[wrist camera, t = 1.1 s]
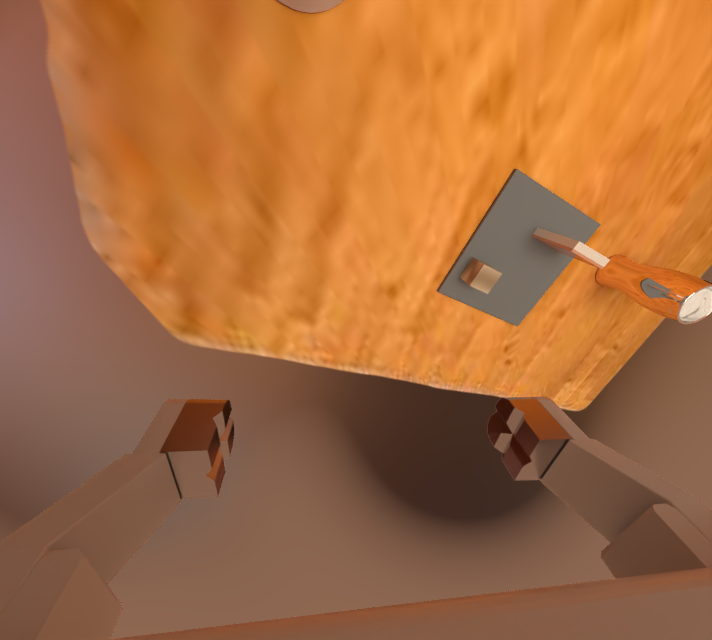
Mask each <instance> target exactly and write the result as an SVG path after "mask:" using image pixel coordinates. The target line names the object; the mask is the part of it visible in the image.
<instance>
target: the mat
mask: <svg viewBox="0 0 712 640" xmlns="http://www.w3.org/2000/svg"><path fill="white" fill-rule="evenodd" d="M599 226H600V224H599V223H597V222H596V221H594V220H593V219H591V218H590V217H588V216H587V215H585V214H584V213H582V212H581V211H579V210H578V209H576V208H575V207H573V206H572V205H570V204H569V203H567V202H566V201H564V200H563V199H561V198H560V197H558V196H557V195H555V194H554V193H552V192H551V191H549V190H548V189H546V188H545V187H543V186H542V185H540V184H539V183H537V182H536V181H534V180H533V179H531V178H530V177H528V176H527V175H525V174H524V173H522V172H521V171H519V170H518V169H514V171H513V172H512V174H511V175H510V177H509V179H508V180H507V182H506V183H505V185H504V186H503V188H502V190H501V191H500V193H499V194H498V196H497V197H496V199H495V201H494V202H493V204H492V205H491V207H490V208H489V210H488V212H487V213H486V215H485V216H484V218H483V219H482V221H481V223H480V224H479V226H478V227H477V229H476V230H475V232H474V234H473V235H472V237H471V238H470V240H469V241H468V243H467V245H466V246H465V248H464V249H463V251H462V252H461V254H460V256H459V257H458V259H457V260H456V262H455V263H454V265H453V266H452V268H451V270H450V271H449V273H448V274H447V276H446V277H445V279H444V281H443V282H442V284H441V285H440V287H439V288H438V290H437V291H438V292H439V293H442V294H444V295H446V296H449V297H451V298H453V299H456V300H458V301H460V302H463V303H465V304H467V305H470V306H472V307H474V308H476V309H479V310H481V311H483V312H486V313H488V314H490V315H493V316H495V317H497V318H500V319H502V320H504V321H506V322H509V323H511V324H513V325H516V326H518V325H519V324H520V323H521V321H522V320H523V319H524V318H525V317H526V315H527V314H528V313H529V312H530V310H531V309H532V308H533V307H534V306H535V304H536V303H537V302H538V301H539V299H540V298H541V297H542V296H543V295H544V293H545V292H546V291H547V290H548V288H549V287H550V286H551V285H552V284H553V282H554V281H555V280H556V279H557V277H558V276H559V275H560V274H561V273H562V271H563V270H564V269H565V268H566V266H567V265H568V264H569V263H570V262H571V260H572V259H573V258H572V257H570V256H567V255H565V254H562V253H560V252H558V251H556V250H554V249H553V248H551V247H549V246H547V245H546V244H544V243H542V242H540V241H539V240H537V239H535V238H533V237H532V234H533V233H534V232H535V230H536V229H537V228H541V229H544V230H547V231H550V232H553V233H556V234H559V235H562V236H565V237H568V238H571V239H574V240H577V241H580V242H582V243H583V244H585V243H586V242H587V241H588V240H589V238H590V237H591V236H592V235H593V234H594V232H595V231H596V230H597V229H598V227H599ZM472 257H474V258H476V259H478V260H480V261H482V262H484V263H486V264H488V265H490V266H491V267H493V268H494V269H496V270H498V271H499V272H501V273H502V275H501V276H500V278H499V279H498V281H497V282H496V283H495V285H494V286H493V287H492V289H491V290H490V292H489V293H488V294H487V293H484V292H482V291H480V290H478V289H476V288H474V287H471V286H469V285H468V284H467V283H466V282H465V281H464V280H462V279H461V278H460V275H461V274H462V272H463V271H464V269H465V268H466V266H467V265H468V263H469V262H470V260H471V259H472Z"/></svg>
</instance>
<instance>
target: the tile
mask: <svg viewBox="0 0 712 640" xmlns="http://www.w3.org/2000/svg"><path fill="white" fill-rule="evenodd" d="M532 237H533V238H535V239H537V240H539V241H540V242H542V243H544V244H546V245H547V246H549V247H551V248H553V249H554V250H556V251H558V252H560V253H562V254H565V255H567V256H570V257H572V258H575V259H577V260H580V261H582V262H585V263H587V264H590V265H592V266H595V267H597V268H600V269H603V268H604V267H605V265H606V264H607V263H608V262H609V261H610V260H609V259H608V258H606V257H604V256H603V255H601V254H600V253H598V252H596V251H595V250H593V249H591V248H590V247H588V246H587V245H585V244H583V243H582V242H580V241H577V240H574V239H571V238H568V237H565V236H562V235H559V234H556V233H553V232H550V231H547V230H544V229H541V228H537V229H536V230H535V232H534V233H533V234H532Z"/></svg>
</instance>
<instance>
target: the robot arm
mask: <svg viewBox="0 0 712 640" xmlns="http://www.w3.org/2000/svg"><path fill="white" fill-rule="evenodd" d="M278 1H280V2H281V3H283V4H284V5H286V6H288V7H290V8H292V9H295V10H298V11H302V12H308V13H315V12H322V11H326V10H328V9H331V8H333V7H335V6H336V5H338V4H339V3H341V2H342V1H343V0H278ZM495 407H496V410H497V412H496V413H494V414H493V415H492V416H490V419H489V421H488V423H487V430H488V435H489V438H490V440H491V442H492V444H493V446H494V447H495V448H496V449H498V450H499V451H501V452H502V461H503V462H504V464H505V466H506V467H507V469H508V471H509V472H510V474H511V476H512V477H513V479H514V480H541V481H540V482H542V483H543V484H544V485H545V486H546V487H548V488H549V489H550V490H551V491H552V492H553V493H554V494H555V495H557V496H558V497H559V498H560V499H561V500H562V501H564V502H565V503H566V504H567V505H568V506H569V507H570V508H571V509H573V510H574V511H575V512H576V513H577V514H578V515H579V516H581V517H582V518H583V519H584V520H585V521H586V522H587V523H589V524H590V525H591V526H592V527H593V528H594V529H595V530H597V531H598V532H599V533H600V534H601V535H602V536H604V537H605V538H606V539H607V540H608V541H609V542H610V544H609V545H608V546H607V547H606V548H605V549H603V550H602V551H601V558H602V560H603V561H604V563H605V564H606V565H607V567H608V568H609V570H610V571H611V573H612V574H613V576H614V577H615V579H607V580H597V581H589V582H581V583H573V584H564V585H556V586H548V587H539V588H531V589H524V590H515V591H506V592H498V593H490V594H481V595H473V596H465V597H457V598H448V599H440V600H431V601H423V602H415V603H407V604H398V605H391V606H382V607H373V608H366V609H357V610H349V611H340V612H332V613H324V614H316V615H307V616H299V617H290V618H282V619H274V620H266V621H257V622H249V623H241V624H232V625H225V626H216V627H207V628H199V629H191V630H183V631H175V632H167V633H158V634H149V635H141V636H134V637H124V638H117V639H110V638H111V636H112V633H113V631H114V628H115V626H116V624H117V621H118V619H119V616H120V614H121V611H122V609H123V608H122V605H121V602H120V600H119V599H118V598H117V596H116V595H115V594H114V593H113V592H112V590H111V589H110V587H109V586H108V585H107V584H108V583H109V582H110V581H111V580H112V578H113V577H114V576H115V575H116V574H117V573H118V572H119V571H120V570H121V569H122V567H123V566H124V565H125V564H126V563H127V562H128V561H129V560H130V559H131V558H132V556H133V555H134V554H135V553H136V552H137V551H138V550H139V549H140V548H141V547H142V545H143V544H144V543H145V542H146V541H147V540H148V539H149V538H150V537H151V535H152V534H153V533H154V532H155V531H156V530H157V529H158V528H159V527H160V525H161V524H162V523H163V522H164V521H165V520H166V519H167V518H168V516H170V514H171V513H172V512H173V511H174V510H175V509H176V508H177V507H178V505H179V504H180V503H181V502H182V501H181V500H186V499H198V498H209V497H218V495H219V492H220V488H221V485H222V481H223V478H224V475H225V466H224V461H225V460H226V459H227V458H228V457H229V456H230V454H231V450H232V446H233V439H234V422H233V420H232V419H231V418H229V416H230V413H231V410H232V408H231V403H230V401H229V400H210V399H209V400H208V399H207V400H206V399H189V400H185V399H169V400H168V401H166V402H165V403H164V404H163V405H162V407H161V409H160V411H159V412H158V414H157V415H156V417H155V418H154V420H153V422H152V423H151V425H150V426H149V428H148V430H147V431H146V433H145V435H144V436H143V438H142V439H141V441H140V443H139V445H138V446H137V448H136V449H135V451H134V452H133V454H126V455H124V456H122V457H121V458H120V459H118V460H117V461H115V462H114V463H112V464H111V465H110V466H108V467H107V468H105V469H104V470H102V471H101V472H100V473H98V474H97V475H95V476H94V477H92V478H91V479H90V480H88V481H87V482H85V483H84V484H83V485H81V486H79V487H78V488H77V489H75V490H74V491H72V492H71V493H70V494H68V495H67V496H65V497H64V498H62V499H61V500H59V501H58V502H56V503H55V504H54V505H52V506H51V507H49V508H48V509H46V510H45V511H44V512H42V513H41V514H39V515H38V516H36V517H35V518H34V519H32V520H31V521H29V522H28V523H26V524H25V525H23V526H22V527H21V528H19V529H18V530H17V531H15V532H13V533H12V534H11V535H9V536H8V537H6V538H5V539H3V540H2V541H0V640H712V510H711V509H710V508H709V507H708V506H707V505H705V504H704V503H703V502H702V501H701V500H700V499H698V498H696V497H694V496H693V495H691V494H689V493H688V492H685V491H684V490H682V489H681V488H679V487H677V486H675V485H674V484H671V483H670V482H668V481H666V480H665V479H663V478H661V477H659V476H658V475H656V474H654V473H652V472H651V471H649V470H647V469H645V468H644V467H642V466H640V465H638V464H637V463H635V462H633V461H631V460H630V459H628V458H626V457H624V456H623V455H621V454H619V453H617V452H616V451H614V450H612V449H610V448H609V447H607V446H605V445H603V444H602V443H600V442H598V441H596V440H595V439H589V438H588V437H587V436H586V435H585V434H584V433H583V432H582V431H581V430H580V429H579V428H578V427H577V426H576V424H574V422H573V421H572V420H571V419H570V418H569V417H568V416H567V415H566V414H565V413H564V412H563V411H562V410H561V409H560V408H559V407H558V406H557V405H556V404H555V403H554V402H553V401H552V400H551V399H549V398H547V397H531V398H530V397H514V398H501V399H500V400H498V402H497V404H496V406H495Z"/></svg>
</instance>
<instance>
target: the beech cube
mask: <svg viewBox="0 0 712 640" xmlns="http://www.w3.org/2000/svg"><path fill="white" fill-rule="evenodd" d="M501 275H502V273H501V272H499V271H498V270H496V269H494V268H493V267H491V266H490V265H488V264H486V263H484V262H482V261H480V260H478V259H476V258H474V257H472V259H471V260H470V262H469V263H468V265H467V266H466V268H465V269H464V271H463V272H462V274H461V275H460V278H461V279H462V280H464V281H465V282H466V283H467V284H468V285H469V286H471V287H474V288H476V289H478V290H480V291H482V292H484V293H487V294H488V293H489V292H490V290H491V289H492V287H493V286H494V285H495V283H496V282H497V281H498V279H499V278H500V276H501Z"/></svg>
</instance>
